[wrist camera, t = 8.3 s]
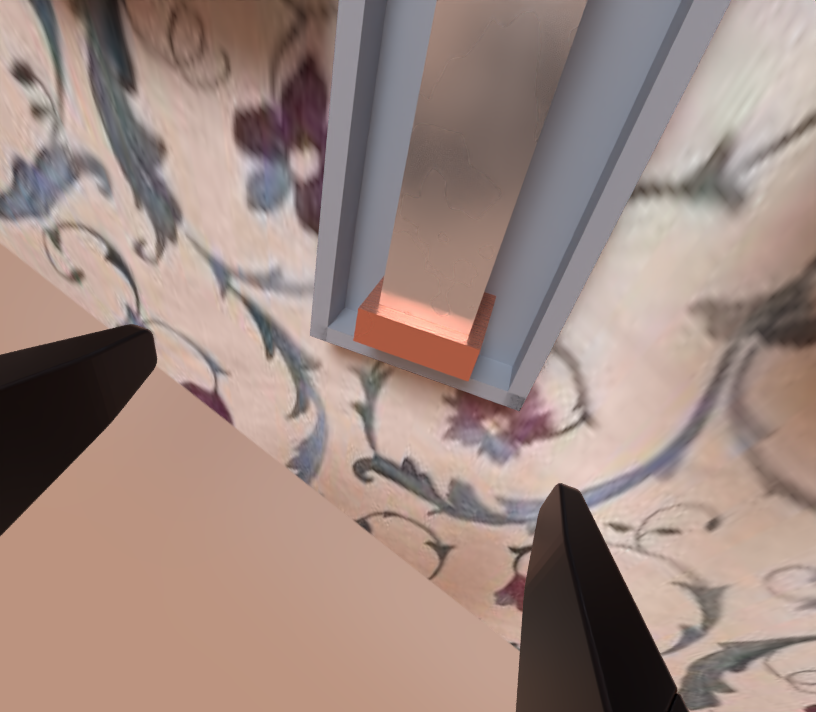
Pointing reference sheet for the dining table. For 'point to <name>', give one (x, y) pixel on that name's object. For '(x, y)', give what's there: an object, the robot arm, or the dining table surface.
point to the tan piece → (465, 174)
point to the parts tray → (543, 184)
